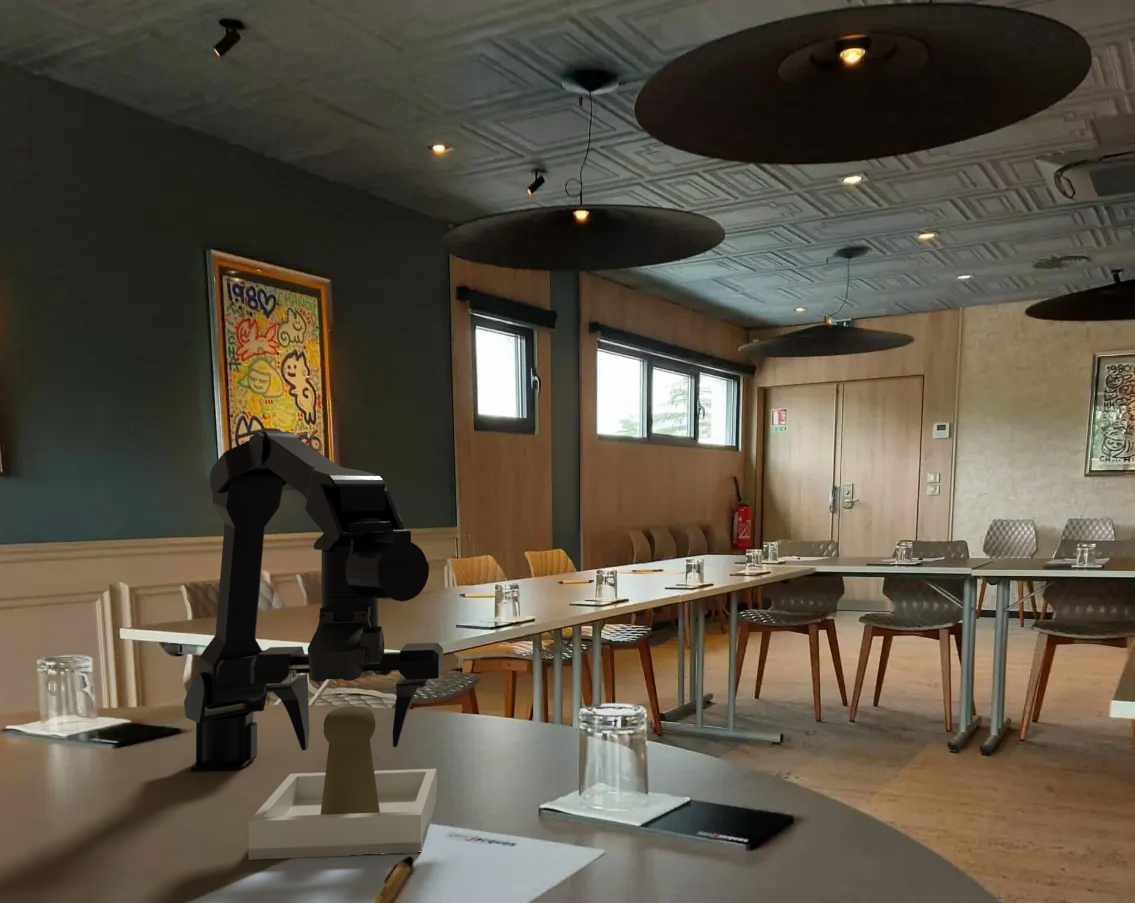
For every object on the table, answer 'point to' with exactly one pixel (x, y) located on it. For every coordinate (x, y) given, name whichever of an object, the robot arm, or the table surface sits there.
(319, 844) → the tray
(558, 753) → the table surface
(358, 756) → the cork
